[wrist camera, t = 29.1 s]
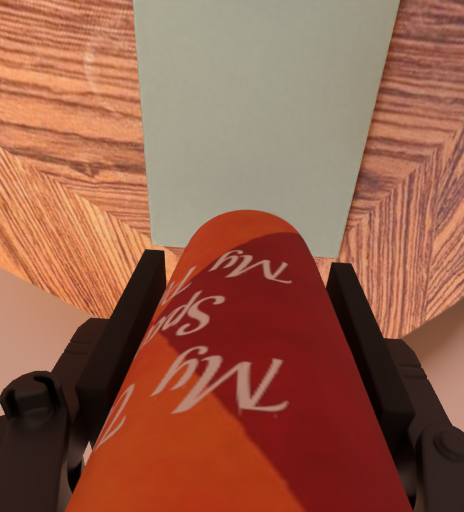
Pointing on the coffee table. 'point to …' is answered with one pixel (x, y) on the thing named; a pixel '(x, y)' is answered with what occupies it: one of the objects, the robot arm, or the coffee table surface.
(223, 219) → the paper cup
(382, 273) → the coffee table surface
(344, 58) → the placemat
